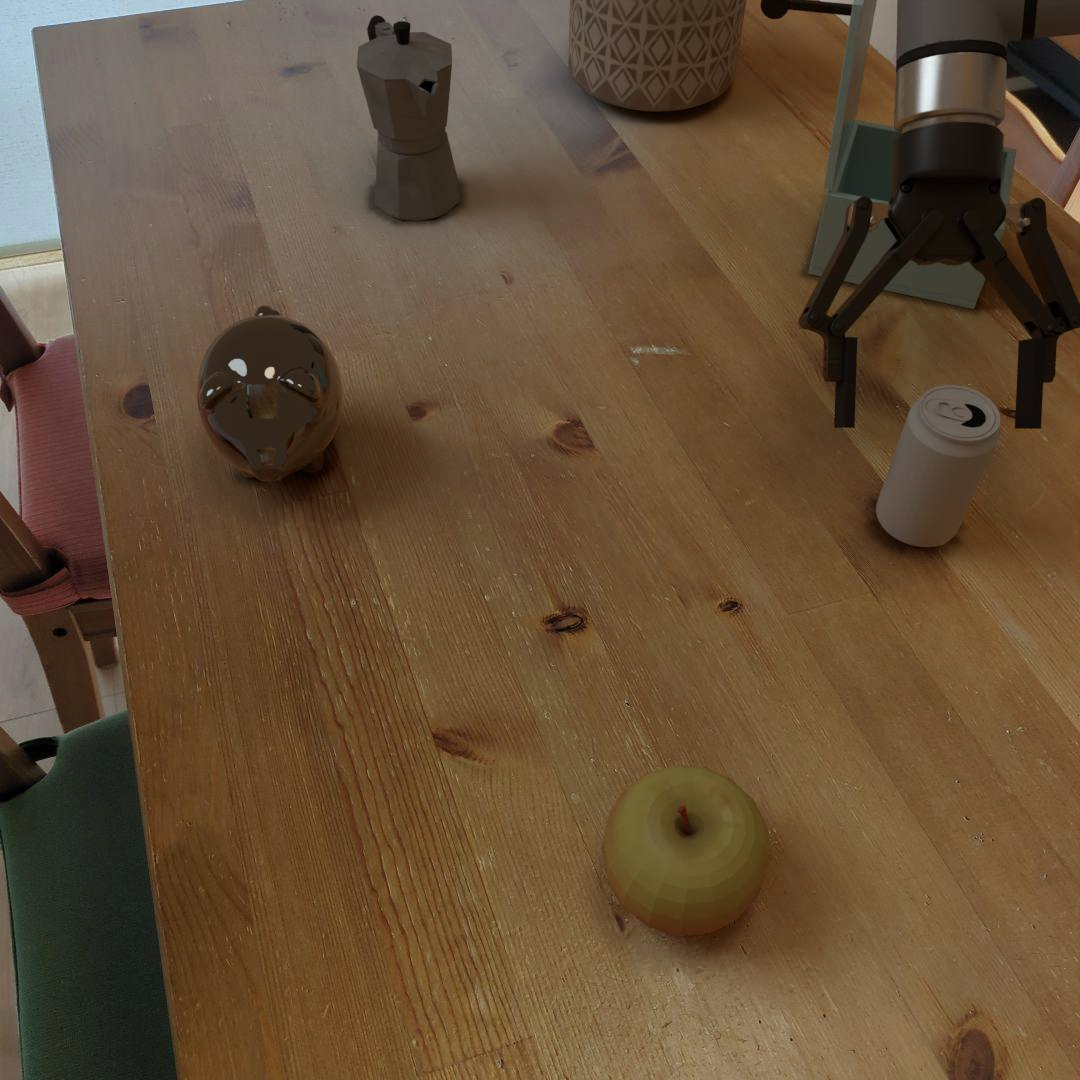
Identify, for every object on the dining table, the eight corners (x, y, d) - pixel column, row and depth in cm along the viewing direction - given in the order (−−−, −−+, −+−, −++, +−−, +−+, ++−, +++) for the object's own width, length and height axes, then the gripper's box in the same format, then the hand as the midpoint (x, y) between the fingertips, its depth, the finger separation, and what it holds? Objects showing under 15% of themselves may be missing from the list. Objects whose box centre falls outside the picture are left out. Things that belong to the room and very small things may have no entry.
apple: (621, 783, 73) (630, 721, 67) (769, 824, 71) (792, 764, 65) (581, 926, 67) (586, 872, 61) (742, 974, 65) (764, 924, 59)
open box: (987, 228, 112) (1016, 149, 105) (973, 309, 104) (1004, 229, 97) (832, 197, 115) (851, 118, 108) (807, 274, 107) (826, 194, 100)
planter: (648, 24, 138) (660, -120, 126) (767, 84, 129) (793, -65, 117) (533, 77, 130) (533, -72, 117) (653, 144, 121) (667, -9, 108)
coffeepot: (485, 218, 112) (479, 43, 98) (398, 242, 110) (379, 67, 96) (426, 143, 121) (413, -27, 107) (344, 164, 118) (320, -8, 104)
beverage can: (951, 562, 85) (1002, 453, 75) (866, 539, 86) (906, 429, 77) (961, 503, 88) (1011, 392, 79) (880, 482, 90) (920, 371, 81)
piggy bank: (208, 526, 86) (171, 420, 77) (220, 394, 96) (188, 286, 87) (353, 514, 87) (333, 408, 78) (351, 384, 97) (333, 276, 88)
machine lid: (888, -65, 95) (787, -73, 98) (862, 4, 87) (753, -6, 89) (856, 114, 108) (767, 104, 110) (832, 190, 100) (736, 177, 102)
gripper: (1093, 146, 84) (1078, 429, 86) (763, 143, 84) (757, 427, 86) (1149, 118, 76) (1131, 429, 79) (786, 115, 76) (778, 427, 78)
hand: (935, 428), depth 82 cm, fingers open, 13 cm apart
